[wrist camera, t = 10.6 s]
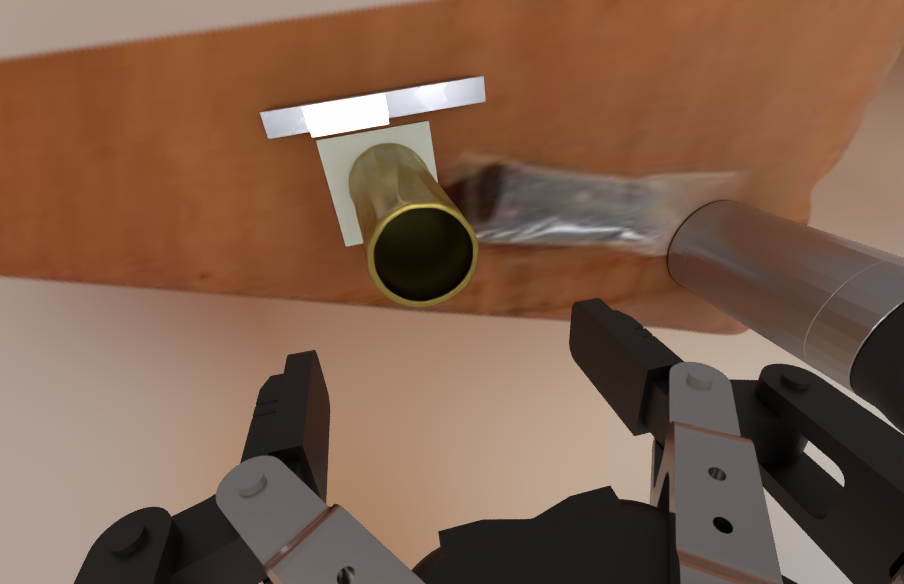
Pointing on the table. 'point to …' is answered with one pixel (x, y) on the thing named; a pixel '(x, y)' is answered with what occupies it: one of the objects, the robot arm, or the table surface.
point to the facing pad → (345, 151)
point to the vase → (410, 228)
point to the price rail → (370, 107)
